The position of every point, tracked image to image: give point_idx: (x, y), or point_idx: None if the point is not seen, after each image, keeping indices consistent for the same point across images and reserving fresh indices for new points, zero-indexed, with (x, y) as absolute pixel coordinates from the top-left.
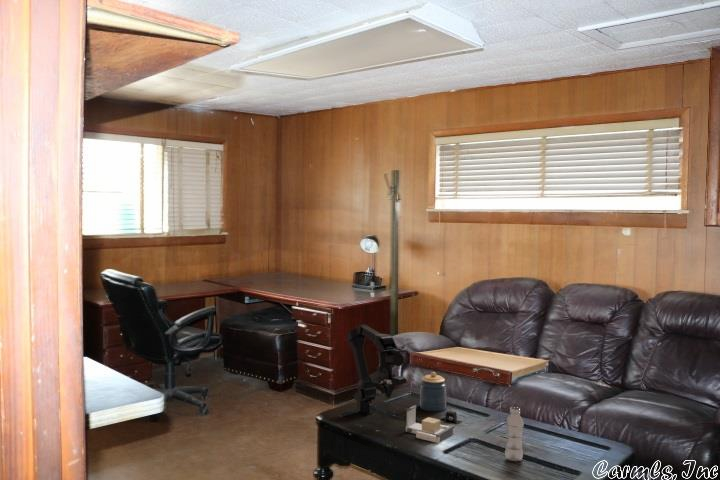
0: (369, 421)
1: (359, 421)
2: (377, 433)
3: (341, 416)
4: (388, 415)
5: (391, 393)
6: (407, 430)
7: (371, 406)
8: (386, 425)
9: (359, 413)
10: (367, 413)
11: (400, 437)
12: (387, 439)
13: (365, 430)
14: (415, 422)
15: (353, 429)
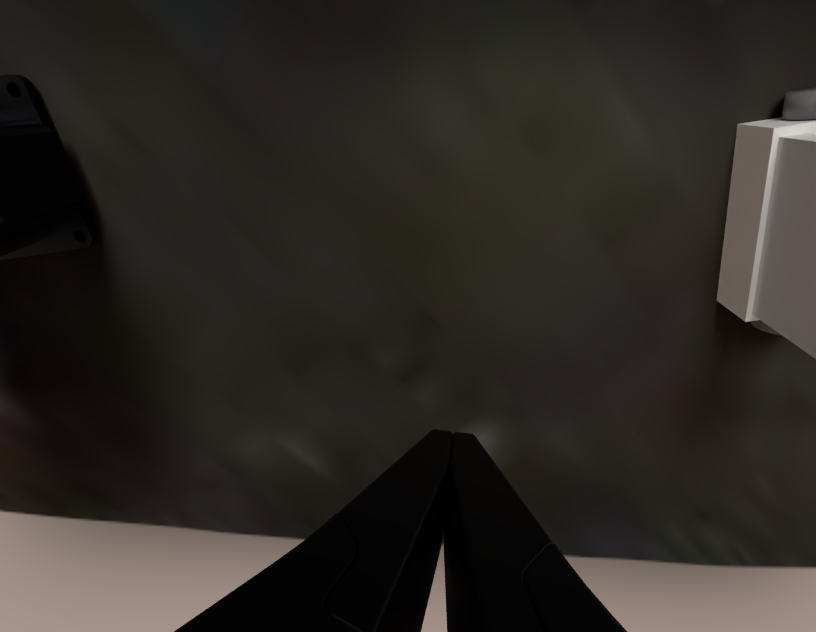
0: (264, 336)
1: (210, 394)
2: (529, 488)
3: (10, 407)
4: (229, 15)
5: (514, 492)
6: (762, 324)
7: (1, 164)
8: (461, 307)
9: (17, 257)
10: (69, 210)
11: (744, 441)
12: (669, 524)
13: None
14: (811, 135)
15: None
